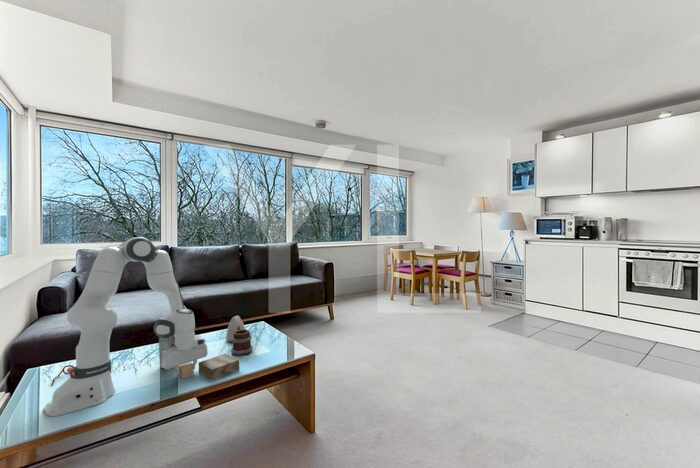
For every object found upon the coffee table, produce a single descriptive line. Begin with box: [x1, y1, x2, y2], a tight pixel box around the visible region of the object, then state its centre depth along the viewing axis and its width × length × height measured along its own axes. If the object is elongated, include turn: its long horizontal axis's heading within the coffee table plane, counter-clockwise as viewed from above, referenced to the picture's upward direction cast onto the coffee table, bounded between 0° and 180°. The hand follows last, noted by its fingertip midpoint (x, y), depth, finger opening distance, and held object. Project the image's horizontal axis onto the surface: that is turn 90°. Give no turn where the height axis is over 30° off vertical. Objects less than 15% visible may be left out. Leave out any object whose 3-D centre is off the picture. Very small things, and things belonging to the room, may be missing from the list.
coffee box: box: [158, 336, 175, 369], centre depth 168 cm, size 9×6×16 cm
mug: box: [230, 326, 254, 357], centre depth 184 cm, size 12×14×15 cm
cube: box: [178, 362, 195, 379], centre depth 155 cm, size 5×5×5 cm
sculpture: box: [225, 315, 246, 343], centre depth 205 cm, size 13×12×15 cm
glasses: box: [50, 364, 75, 387], centre depth 155 cm, size 13×13×5 cm
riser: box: [198, 353, 240, 381], centre depth 159 cm, size 14×13×5 cm
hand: (185, 371), depth 156 cm, fingers closed on cube, 5 cm apart
